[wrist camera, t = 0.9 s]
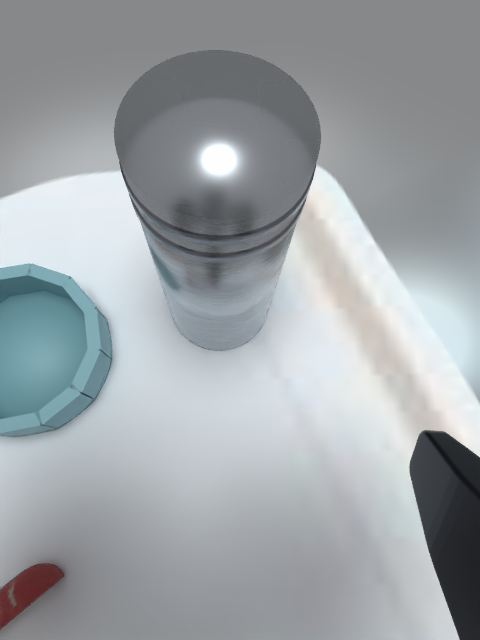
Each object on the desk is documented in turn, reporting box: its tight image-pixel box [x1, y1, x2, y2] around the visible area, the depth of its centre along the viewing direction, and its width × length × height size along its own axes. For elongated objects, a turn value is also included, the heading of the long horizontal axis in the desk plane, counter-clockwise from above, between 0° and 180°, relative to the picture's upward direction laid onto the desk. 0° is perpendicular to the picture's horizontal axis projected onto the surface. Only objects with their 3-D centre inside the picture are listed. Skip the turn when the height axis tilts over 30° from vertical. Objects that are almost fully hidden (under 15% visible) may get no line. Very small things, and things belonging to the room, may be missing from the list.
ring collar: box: [0, 264, 112, 437], centre depth 21 cm, size 8×8×2 cm
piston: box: [114, 50, 321, 351], centre depth 17 cm, size 5×5×13 cm
